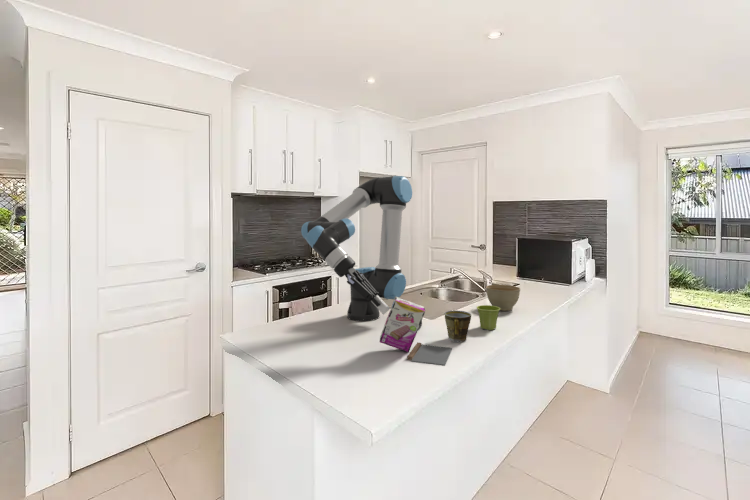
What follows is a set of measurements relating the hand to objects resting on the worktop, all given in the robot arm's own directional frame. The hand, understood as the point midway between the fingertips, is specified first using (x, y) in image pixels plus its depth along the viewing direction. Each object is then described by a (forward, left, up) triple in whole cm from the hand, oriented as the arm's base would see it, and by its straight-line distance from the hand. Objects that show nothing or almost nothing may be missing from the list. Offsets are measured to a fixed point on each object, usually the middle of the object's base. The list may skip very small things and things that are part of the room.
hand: (386, 311), depth 131 cm
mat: (+15, +2, -14) cm, 21 cm away
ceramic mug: (+1, +27, -15) cm, 30 cm away
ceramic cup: (+21, +19, -15) cm, 32 cm away
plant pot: (+31, +39, -15) cm, 52 cm away
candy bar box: (+2, +2, -13) cm, 13 cm away
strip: (+9, +2, -14) cm, 17 cm away
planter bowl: (+36, +74, -15) cm, 84 cm away
